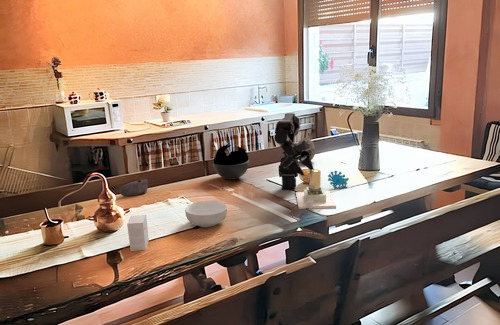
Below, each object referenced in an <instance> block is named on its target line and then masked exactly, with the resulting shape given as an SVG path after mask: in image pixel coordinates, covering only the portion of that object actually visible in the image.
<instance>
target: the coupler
mask: <svg viewBox="0 0 500 325" xmlns="http://www.w3.org/2000/svg"><path fill="white" fill-rule="evenodd" d="M308 170H309V172H308V174H309V175H308V178H309V180H308V181H309V182H308V183H309V184H308V185H309V186H308V187H309V195H318V194H320V191H321V189H322V187H321V178H322V177H321V169H315V168H314V169H313V170H310V169H308Z"/></svg>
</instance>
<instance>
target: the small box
mask: <svg viewBox="0 0 500 325" xmlns="http://www.w3.org/2000/svg"><path fill="white" fill-rule="evenodd" d="M147 220H148V219H147V214H141V215H139V214H138V215H131V216H130V217H129V220H128V222H127V224H126V225H127V233H128V240H129V246H130V247H129V250H130V252H136V251H146V250H147V249H148V244H149V240H150V239H149V230H148V229H149V228H148V221H147Z"/></svg>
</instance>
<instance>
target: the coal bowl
mask: <svg viewBox="0 0 500 325" xmlns="http://www.w3.org/2000/svg"><path fill="white" fill-rule="evenodd" d="M231 146H232V145H231V144H226V145H225V144H224V145H222V146H221V147H219V148H218V149H217V150H216V152H215V155H214V157H213V161H212V166H213V169H214V171H215V172H216V173H217V175H219V177H221V178H223V179H226V180H236V179H239V178H241V177H242V176H243V175H245V173H247V171H248V168H249V166H250V159H249V154H248V152H247V150H246V148H243V147H241V146H237V150H231V151H230V152H229V153H228V154H227V152H226V150H228V148H230V147H231Z"/></svg>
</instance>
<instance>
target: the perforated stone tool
mask: <svg viewBox="0 0 500 325" xmlns="http://www.w3.org/2000/svg"><path fill="white" fill-rule="evenodd" d="M148 188H149V180H148V179H146V178H145V179H139V180H135V181H131V182H128V183H125V184H124V185H122V186H120V188H119V194H120V195H121V196H124V197H130V196H137V195H141V194H145V193H147V192H148Z"/></svg>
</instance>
